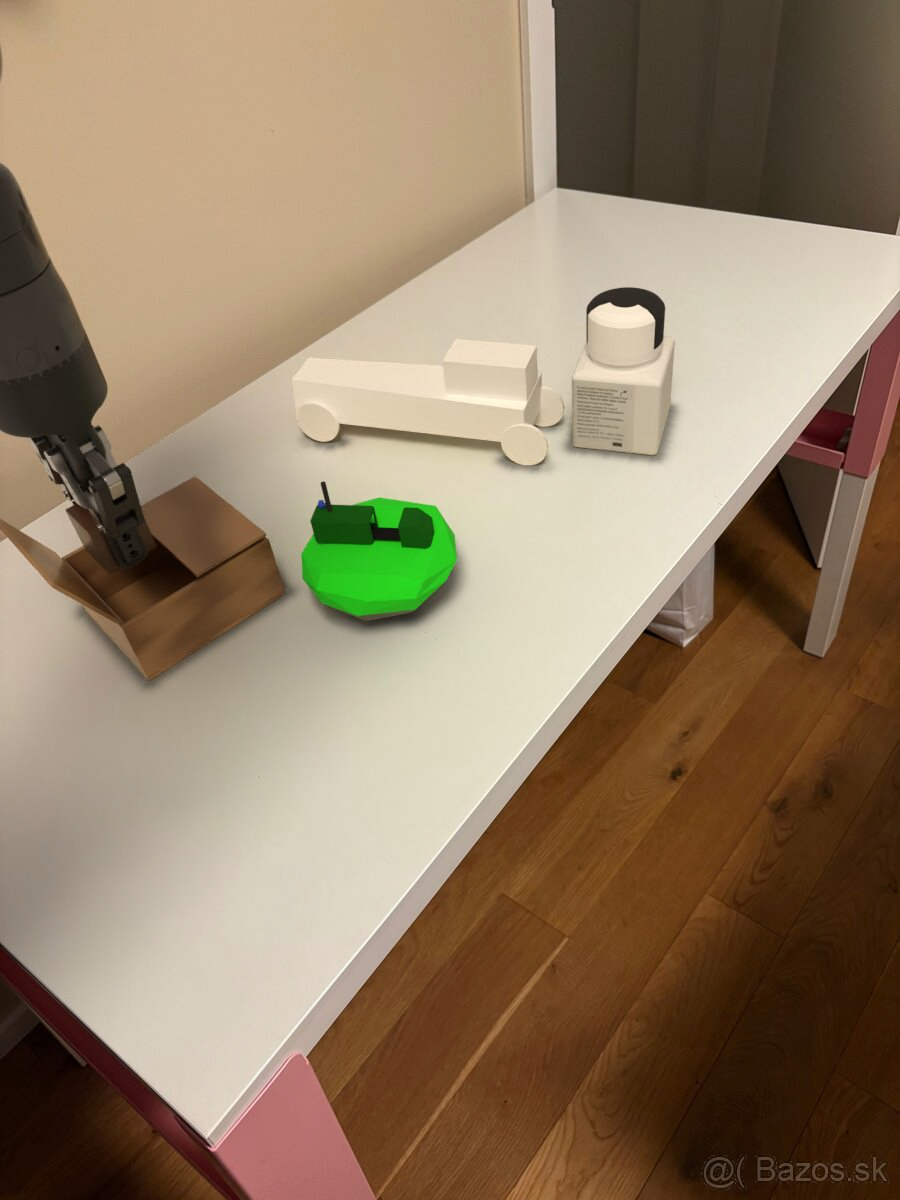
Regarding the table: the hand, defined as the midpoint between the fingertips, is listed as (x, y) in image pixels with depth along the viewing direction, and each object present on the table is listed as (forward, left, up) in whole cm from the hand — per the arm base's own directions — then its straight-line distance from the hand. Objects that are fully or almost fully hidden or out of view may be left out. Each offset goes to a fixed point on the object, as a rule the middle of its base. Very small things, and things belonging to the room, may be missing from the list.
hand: (118, 546), depth 71 cm
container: (+44, -11, -8) cm, 46 cm away
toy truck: (+32, +3, -8) cm, 33 cm away
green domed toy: (+15, -12, -8) cm, 21 cm away
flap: (-5, 0, +1) cm, 5 cm away
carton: (+3, 0, -8) cm, 9 cm away
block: (0, 0, 0) cm, 0 cm away
